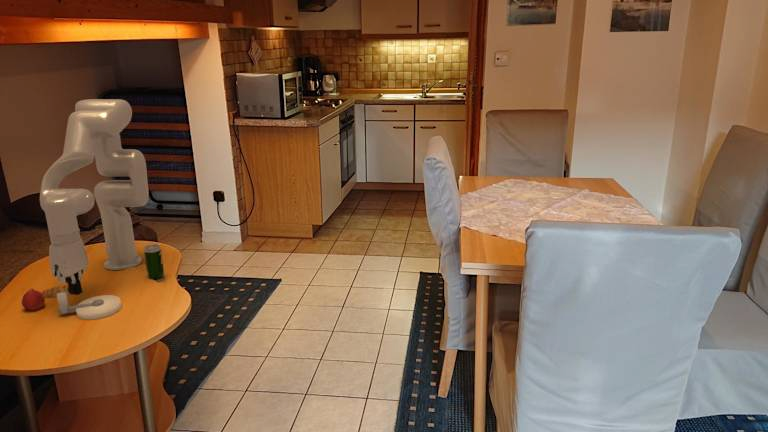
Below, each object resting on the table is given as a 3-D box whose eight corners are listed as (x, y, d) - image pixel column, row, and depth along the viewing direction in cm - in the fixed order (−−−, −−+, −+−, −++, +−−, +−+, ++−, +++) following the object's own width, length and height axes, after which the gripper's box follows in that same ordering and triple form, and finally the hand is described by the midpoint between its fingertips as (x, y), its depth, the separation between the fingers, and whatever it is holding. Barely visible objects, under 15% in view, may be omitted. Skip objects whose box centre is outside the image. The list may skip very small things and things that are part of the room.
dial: (122, 298, 171) (119, 278, 169) (119, 315, 160) (116, 294, 158) (63, 306, 165) (59, 285, 163) (56, 325, 155) (51, 303, 153)
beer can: (150, 283, 184) (145, 250, 181) (146, 278, 189) (142, 246, 185) (166, 280, 187) (162, 247, 184) (163, 274, 192) (158, 243, 188)
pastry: (36, 305, 170) (33, 294, 169) (39, 296, 176) (37, 285, 175) (70, 299, 173) (68, 288, 172) (72, 291, 179) (70, 280, 178)
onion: (23, 317, 162) (18, 293, 159) (25, 309, 166) (20, 285, 164) (46, 313, 164) (41, 289, 162) (47, 305, 169) (42, 282, 166)
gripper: (73, 227, 167) (84, 281, 173) (33, 245, 154) (46, 303, 159) (94, 229, 166) (104, 284, 172) (56, 247, 152) (67, 306, 158)
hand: (76, 293), depth 165 cm, fingers closed
